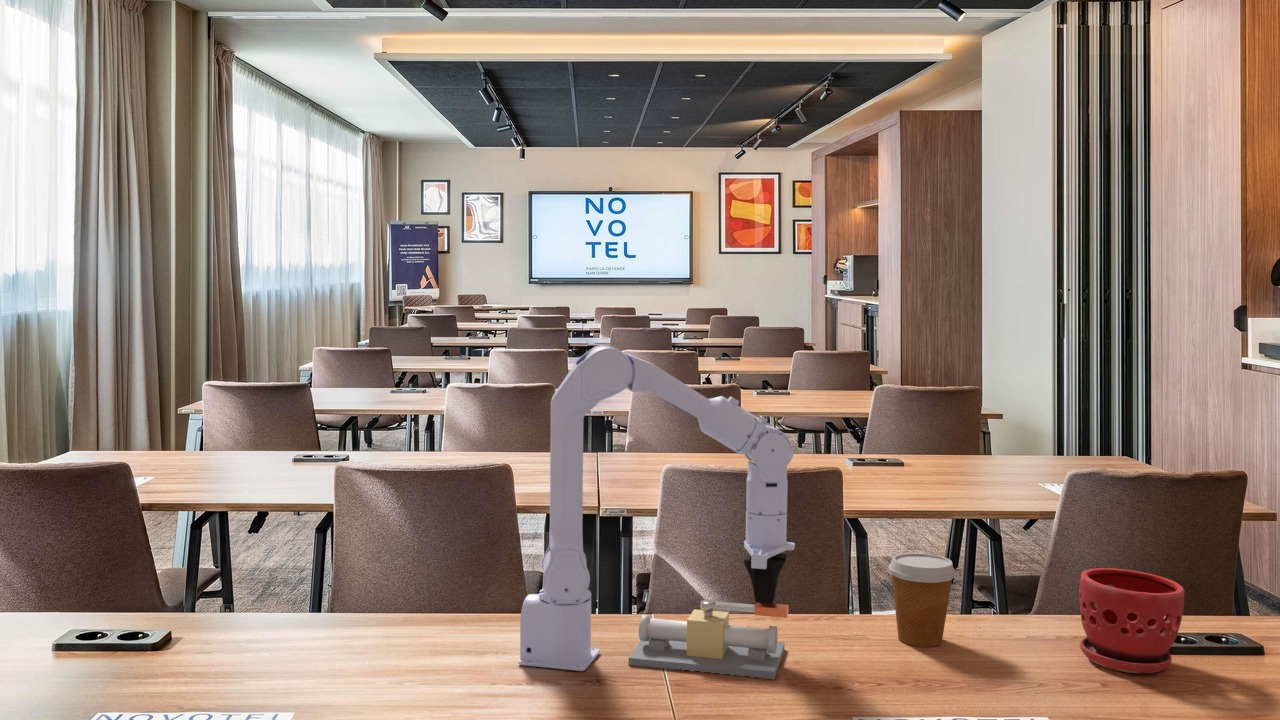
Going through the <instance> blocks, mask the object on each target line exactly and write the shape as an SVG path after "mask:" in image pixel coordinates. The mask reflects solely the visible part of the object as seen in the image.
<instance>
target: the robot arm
mask: <svg viewBox="0 0 1280 720" xmlns="http://www.w3.org/2000/svg"><path fill="white" fill-rule="evenodd" d="M627 388H628V390H629V391H630V392H632V393H637V392H638V393H640V392H649V393H652V394H654V395H656V396H658V397H659V398H662V399H663V400H664V401H667V402H669V403H670V404H672V405H674V406H676V407H678V408H679V409H681V410H683V411H685V412H686V413H688V414H690V415H692V416H694V417H695V418H696V419H697V421H698V425H699V429H700V431H701V432H702V433H703V434H705V435H707V436H708V437H709V438H712V439H713V440H715V441H717V442H718V443H720V444H722V445H723V446H725V447H727V448H728V449H730V450H732V451H734V452H735V453H737V454H744V457H745V458H746V459H747V476H746V501H745V502H746V503H745V508H746V509H745V540H744V541H743V548H744V549H745V551H747V553H748V554H747V555H745V557H744V558H743V563H744V566H745V568H746V570H747V572H748V575H749V577H750V581H751V584H752V590H753V595H754V601H755V603H756V602H759V603H771V604H774V602H775V598H776V592H777V587H778V584H779V583H778V582H779V578H780V575H781V572H782V569H783V567H784V565H785V563H786V561H787V559H788V558H787V557H788V555H787V554H786V553H783V552H786V551H794V550H795V548H796V543H795V542H792V541H791V542H790V541H787V531H788V530H787V529H788V527H787V526H788V525H787V524H788V523H787V520H788V519H787V518H788V481H789V480H788V465H789V464H790V463H791V462H792V459H793V457H794V452H795V450H794V449H793V448H792V442H791V440H790V439H789V437H788V436H787V434H786V433H784V432H783V431H782V430H780V429H778V428H776V427H774V426H773V425H772V424H771V423H769V422H768V419H767V418H766V417H764V416H762V415H760V416H756V415H755V414H753V413H751V412H749V411H748V410H746V409H745V408H743V407H741V406H740V405H739V403H740V402H739V400H738V399H735V398H734V397H733V396H729V397H728V398H726V397H724V396H723V395H720V396H716V397H711V398H707V397H706V396H704V395H703V394H701V393H699V392H698V391H696V390H695V389H693V388H691V387H690V386H688V385H687V384H685V383H684V382H682V381H681V380H679V379H678V378H676V377H675V376H673V375H672V374H669V373H668V372H666V371H665V370H663V369H662V368H660V367H658V366H657V365H655V364H653V363H652V362H650V361H647V360H644V359H642V358H640V357H638V356H635V355H633V354H630V353H627V352H625V353H624V352H622V351H621V350H619V349H618V348H616V347H615V346H612V345H609V344H601V345H600V344H598V345H597V346H593V347H592V348H590V349H589V350H588V351H586V352H585V353H584V354H582V355H581V356H579V357H578V358H577V359H576V360H575V362H574V364H573V365H572V367H571V369H570V370H569V372H568V373H567V374H566V376H565V378H564V379H563V381H562V382H561V384H560V385H559V386H558V387H557V389H556V391H554V393H553V395H552V397H551V401H550V450H549V451H550V452H549V453H550V454H549V455H550V458H549V459H550V462H549V466H550V467H549V469H550V470H549V488H550V489H549V530H548V531H549V533H548V534H549V535H548V537H549V538H548V539H549V540H548V545H547V549H546V551H545V552H544V554H543V557H542V562H541V563H542V564H541V566H542V570H543V576H542V585H543V587H542V589H540V590H539V591H538V592H539V593H530V594H527V595H526V597H525V598H524V600H523V603H522V607H521V612H520V620H519V621H520V623H519V625H520V628H519V629H520V630H519V631H520V632H519V634H520V635H519V636H520V639H519V640H520V641H519V642H520V644H519V645H520V650H519V651H520V652H519V654H520V656H519V660H518V661H517V663H518V665H519V666H527V667H529V666H530V667H539V668H545V669H546V668H548V669H558V670H565V671H566V670H568V671H577V672H585V670H587V668H588V667H589V666H590V665H591V663H593V661H594V660H595V659H596V657H597V656H598V655H599V654H600V653H601V649H600V648H596V647H595V648H594V647H592V645H591V644H592V592H591V590H590V589H589V587H590V583H591V576H590V571H589V569H588V567H587V566H588V565H587V564H588V563H587V556H586V553H585V552H584V543H583V542H584V541H583V540H584V536H583V517H584V515H583V507H584V506H583V505H584V504H583V502H584V501H583V500H584V499H583V498H584V497H583V496H584V494H583V493H584V418H585V416H586V415H588V413H589V412H590V411H591V410H593V408H595V407H596V406H597V405H598V404H599V403H600V402H602V401H604V400H606V399H608V398H611V397H613V396H615V395H618V394H620V393H621V392H624V390H625V389H627Z"/></svg>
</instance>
